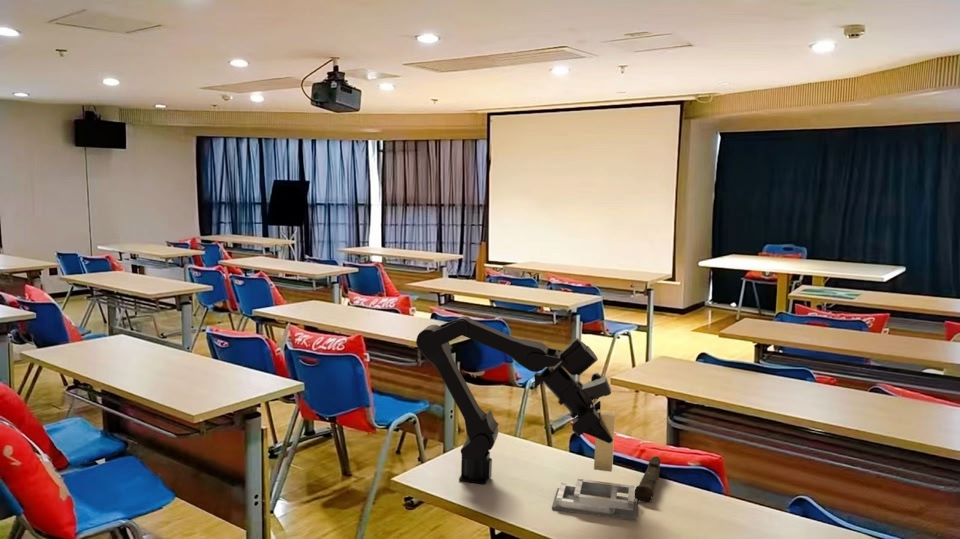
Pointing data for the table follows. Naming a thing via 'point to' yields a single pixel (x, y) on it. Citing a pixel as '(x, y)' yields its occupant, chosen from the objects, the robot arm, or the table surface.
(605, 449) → the pin
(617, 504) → the grey slotted holder
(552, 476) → the table surface
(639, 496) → the dark brown rod
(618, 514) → the mat
